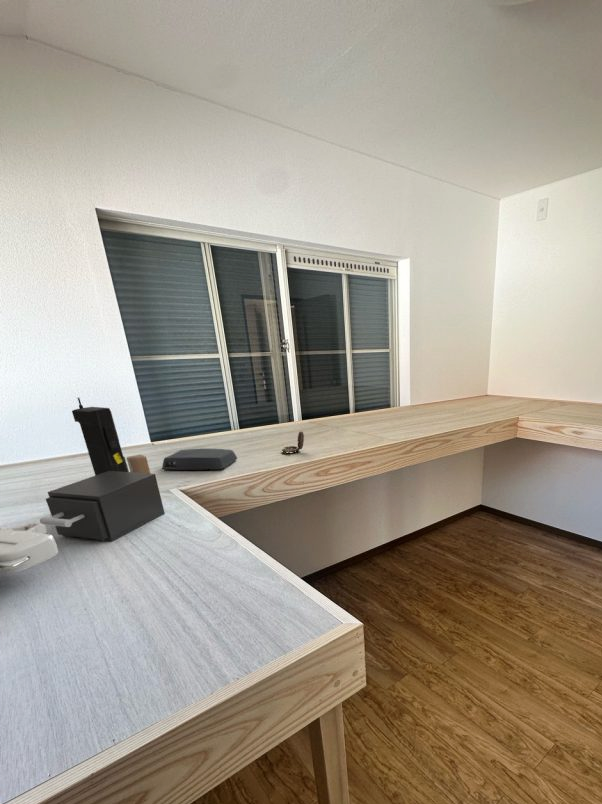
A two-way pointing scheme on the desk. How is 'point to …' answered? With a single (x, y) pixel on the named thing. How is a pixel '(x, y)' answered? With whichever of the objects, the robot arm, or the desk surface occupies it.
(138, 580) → the desk surface
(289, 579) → the desk surface
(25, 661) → the desk surface
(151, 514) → the air fryer
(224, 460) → the hard drive
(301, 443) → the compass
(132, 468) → the wooden block
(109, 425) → the portable radio
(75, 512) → the fryer drawer
